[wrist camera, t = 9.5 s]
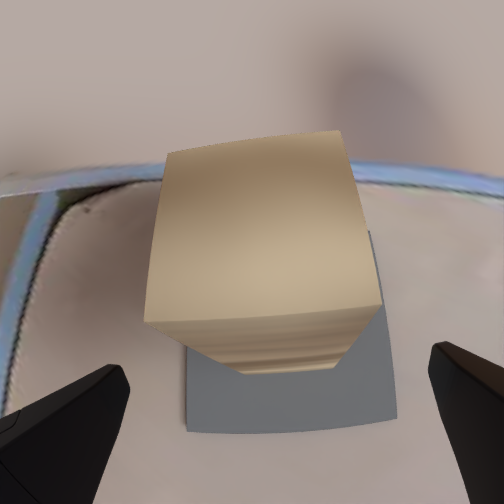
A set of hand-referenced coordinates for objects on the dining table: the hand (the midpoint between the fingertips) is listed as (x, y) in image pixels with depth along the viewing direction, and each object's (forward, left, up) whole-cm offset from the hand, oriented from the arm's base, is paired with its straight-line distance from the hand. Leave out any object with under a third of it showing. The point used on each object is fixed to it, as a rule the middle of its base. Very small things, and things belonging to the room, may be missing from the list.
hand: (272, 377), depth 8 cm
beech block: (+3, +2, -9) cm, 10 cm away
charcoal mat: (+3, +2, -10) cm, 11 cm away
